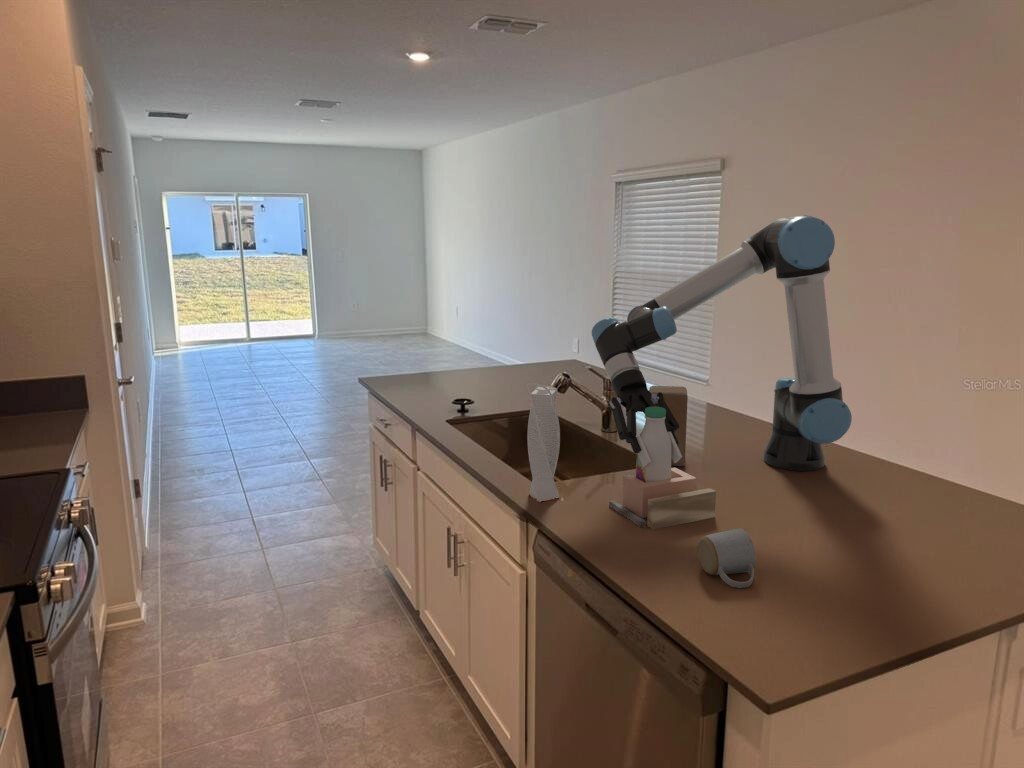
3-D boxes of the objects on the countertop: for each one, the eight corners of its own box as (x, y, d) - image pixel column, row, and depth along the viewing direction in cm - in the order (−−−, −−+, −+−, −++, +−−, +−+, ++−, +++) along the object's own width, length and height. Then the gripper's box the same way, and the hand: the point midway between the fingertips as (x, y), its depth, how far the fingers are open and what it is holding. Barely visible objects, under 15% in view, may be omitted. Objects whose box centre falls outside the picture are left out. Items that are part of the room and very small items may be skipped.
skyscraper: (536, 505, 159) (535, 386, 153) (520, 495, 165) (519, 380, 159) (565, 499, 162) (566, 382, 156) (549, 489, 169) (549, 376, 163)
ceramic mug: (693, 564, 129) (695, 526, 128) (733, 559, 131) (735, 521, 130) (724, 593, 119) (726, 552, 118) (766, 587, 121) (769, 546, 120)
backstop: (609, 505, 158) (609, 481, 157) (679, 493, 165) (680, 469, 164) (646, 530, 144) (646, 503, 143) (720, 515, 152) (722, 489, 150)
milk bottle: (672, 489, 160) (675, 405, 155) (667, 501, 153) (671, 414, 148) (638, 485, 162) (640, 403, 158) (632, 497, 155) (635, 411, 151)
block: (684, 467, 183) (687, 394, 179) (646, 465, 185) (648, 392, 181) (684, 456, 193) (686, 385, 188) (647, 454, 195) (649, 384, 191)
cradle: (622, 505, 158) (623, 475, 156) (673, 495, 163) (675, 467, 161) (642, 517, 150) (642, 487, 149) (695, 507, 156) (696, 478, 154)
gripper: (655, 381, 170) (693, 464, 159) (582, 389, 163) (616, 476, 152) (668, 364, 164) (708, 448, 153) (593, 371, 157) (629, 460, 146)
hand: (662, 462), depth 153 cm, fingers closed on milk bottle, 7 cm apart
